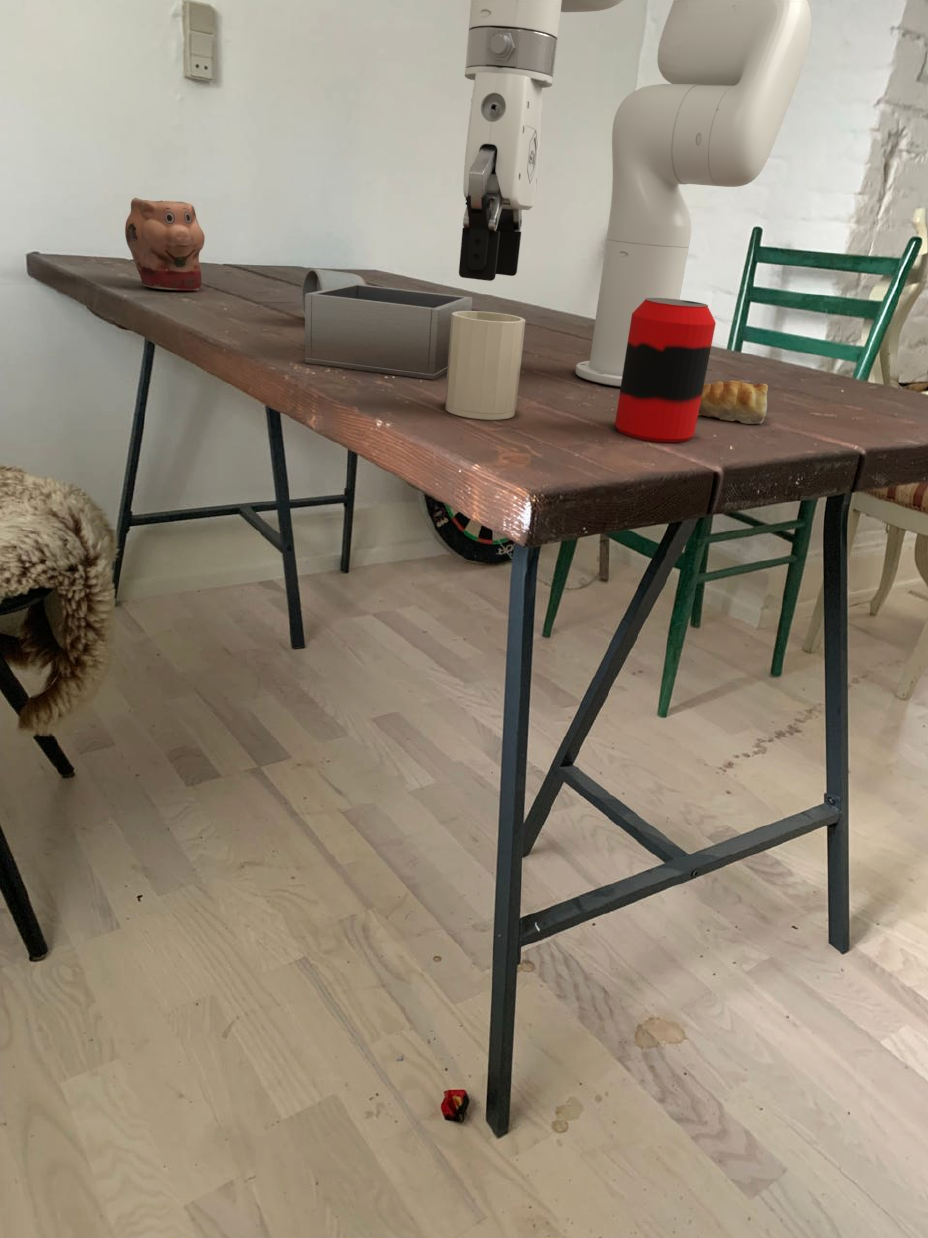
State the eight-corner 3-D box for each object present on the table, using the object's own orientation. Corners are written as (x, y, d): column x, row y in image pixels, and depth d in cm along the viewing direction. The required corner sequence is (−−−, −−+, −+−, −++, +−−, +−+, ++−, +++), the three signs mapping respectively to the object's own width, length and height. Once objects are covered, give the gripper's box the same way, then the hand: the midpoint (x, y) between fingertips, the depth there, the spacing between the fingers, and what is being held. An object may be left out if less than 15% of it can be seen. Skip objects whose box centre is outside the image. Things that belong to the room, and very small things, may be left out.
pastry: (675, 415, 95) (682, 378, 94) (675, 403, 101) (681, 368, 100) (767, 426, 94) (775, 389, 92) (761, 414, 100) (769, 378, 98)
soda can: (710, 440, 86) (736, 308, 81) (652, 445, 82) (676, 307, 77) (654, 421, 92) (676, 296, 87) (598, 425, 88) (617, 295, 83)
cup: (520, 409, 92) (530, 316, 88) (506, 423, 86) (517, 324, 82) (455, 400, 93) (462, 308, 89) (437, 413, 87) (443, 315, 83)
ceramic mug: (372, 328, 132) (374, 272, 129) (320, 329, 128) (321, 270, 125) (341, 318, 140) (341, 265, 137) (291, 318, 136) (291, 263, 133)
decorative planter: (109, 280, 159) (101, 192, 153) (175, 280, 166) (171, 197, 160) (157, 295, 146) (151, 200, 140) (226, 295, 153) (224, 205, 147)
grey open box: (467, 359, 116) (472, 297, 112) (434, 380, 102) (438, 309, 98) (352, 345, 118) (353, 283, 115) (304, 362, 105) (305, 293, 101)
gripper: (536, 46, 68) (509, 286, 75) (568, 80, 84) (544, 276, 91) (440, 39, 70) (423, 275, 77) (489, 74, 85) (471, 268, 92)
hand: (488, 276), depth 84 cm, fingers open, 9 cm apart
